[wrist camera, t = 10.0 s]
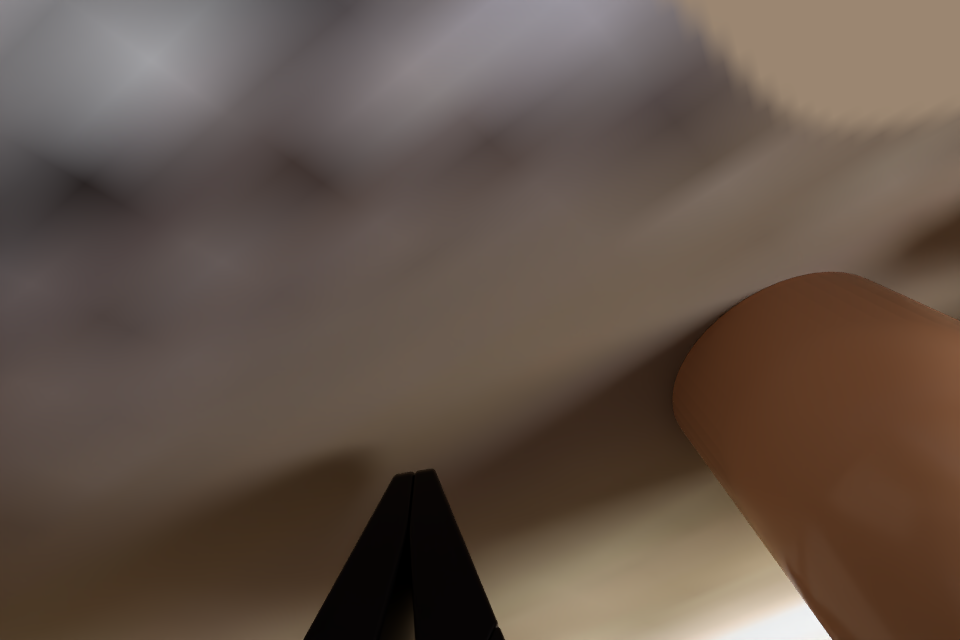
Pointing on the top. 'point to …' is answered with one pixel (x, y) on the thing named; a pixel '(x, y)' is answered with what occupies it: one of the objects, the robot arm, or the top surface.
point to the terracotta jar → (839, 447)
